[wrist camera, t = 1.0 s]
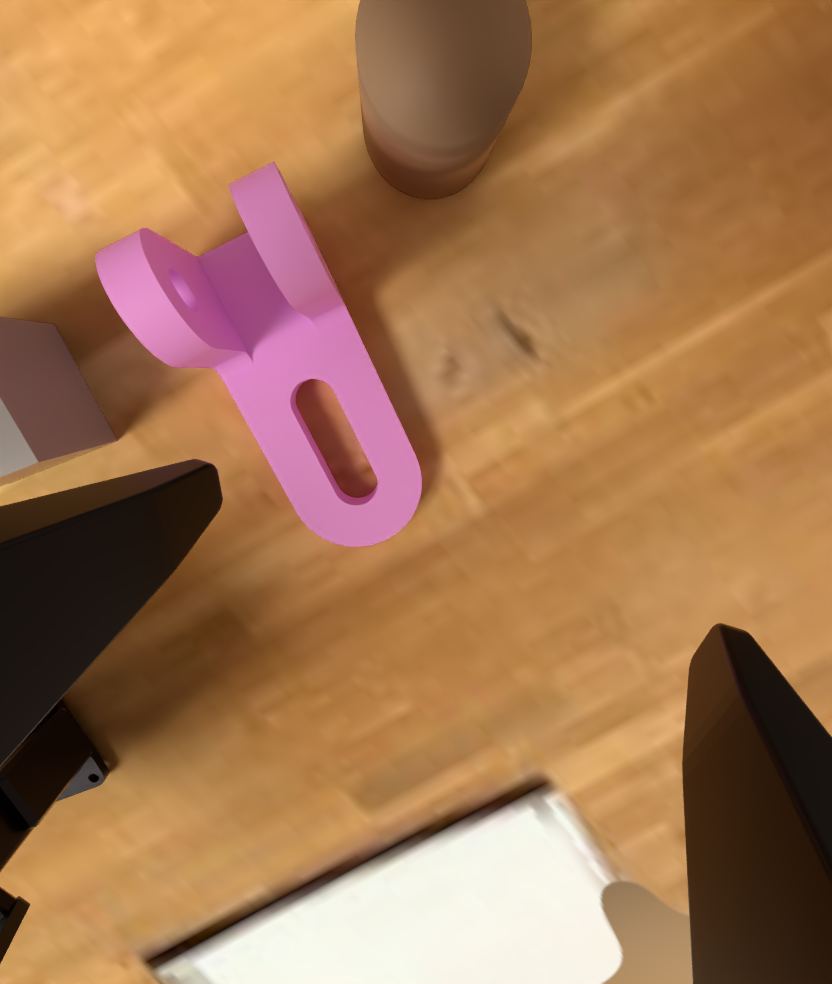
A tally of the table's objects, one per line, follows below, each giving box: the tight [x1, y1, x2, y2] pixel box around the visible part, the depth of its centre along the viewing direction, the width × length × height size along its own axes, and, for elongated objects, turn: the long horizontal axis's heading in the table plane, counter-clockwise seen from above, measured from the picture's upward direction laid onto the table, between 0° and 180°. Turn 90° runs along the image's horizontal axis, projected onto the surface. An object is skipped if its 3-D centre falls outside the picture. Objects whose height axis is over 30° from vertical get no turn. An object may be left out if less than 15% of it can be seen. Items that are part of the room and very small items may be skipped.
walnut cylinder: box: [355, 0, 532, 199], centre depth 16 cm, size 5×5×5 cm
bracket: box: [95, 162, 422, 547], centre depth 18 cm, size 13×6×7 cm, turn 25°
